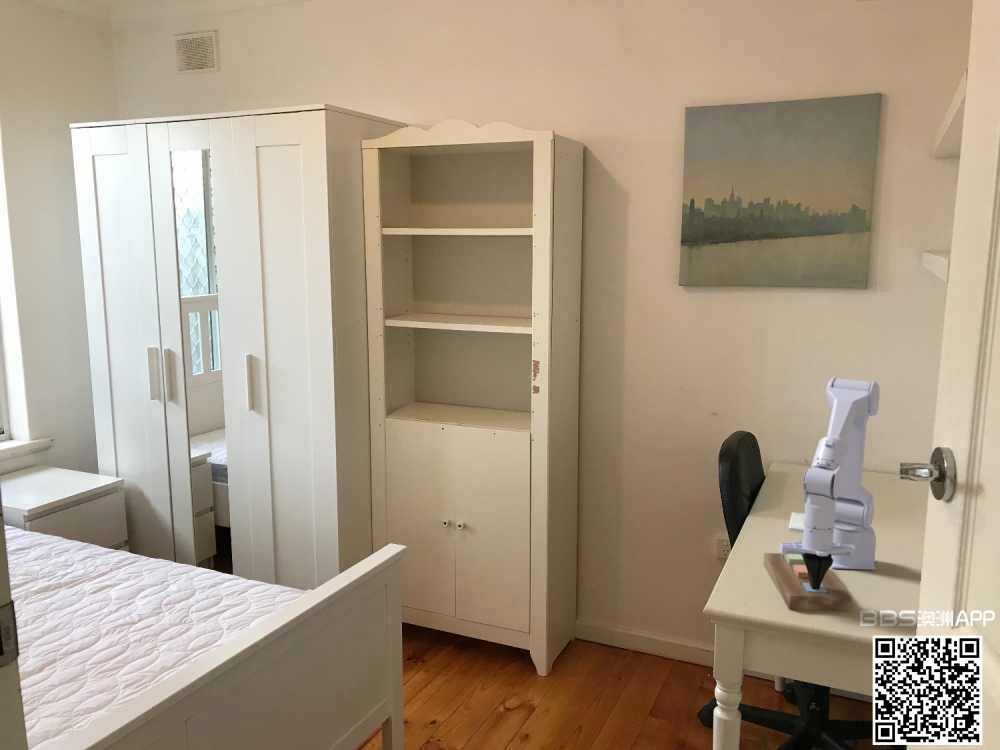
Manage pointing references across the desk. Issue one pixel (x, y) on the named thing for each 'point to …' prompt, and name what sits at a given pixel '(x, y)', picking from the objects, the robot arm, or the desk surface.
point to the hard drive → (797, 522)
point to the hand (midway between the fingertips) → (814, 587)
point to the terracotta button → (800, 571)
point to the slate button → (810, 590)
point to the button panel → (795, 592)
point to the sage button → (794, 559)
